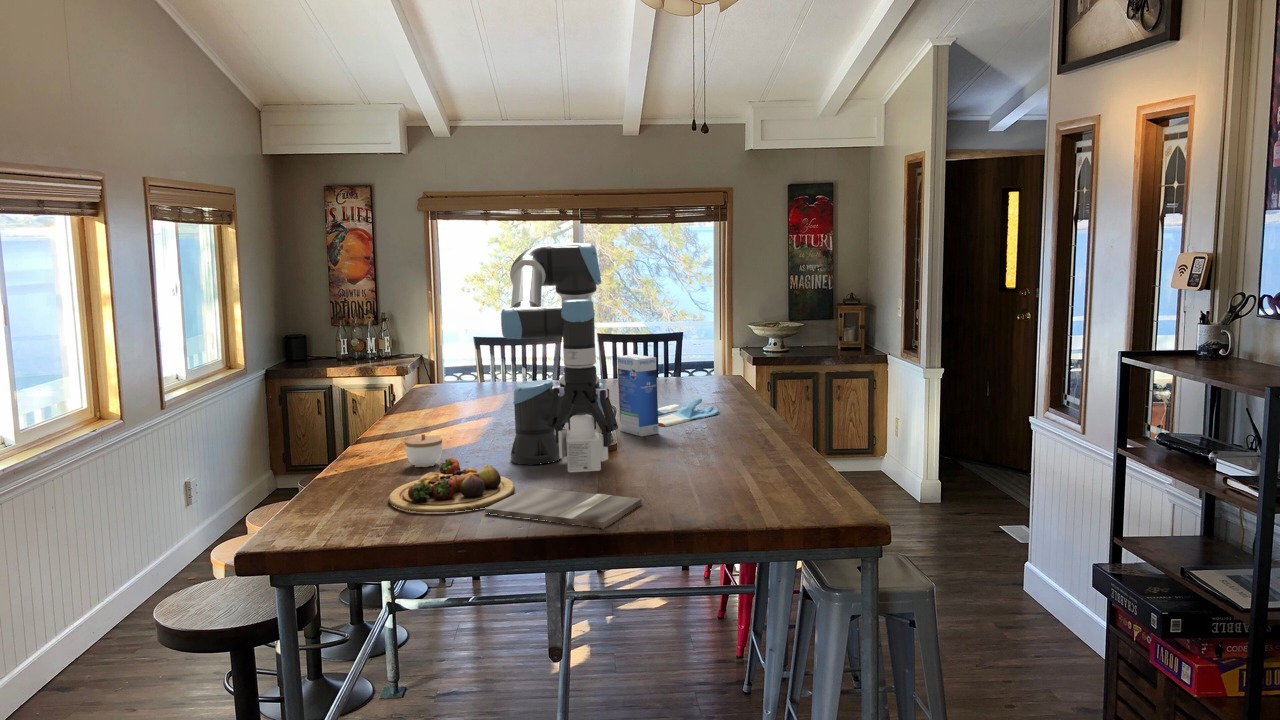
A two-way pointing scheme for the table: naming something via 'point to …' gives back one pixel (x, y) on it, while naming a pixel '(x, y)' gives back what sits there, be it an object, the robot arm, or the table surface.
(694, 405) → the rubber gloves
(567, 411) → the robot arm
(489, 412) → the table surface
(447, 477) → the wooden plate with food
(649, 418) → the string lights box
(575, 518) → the board
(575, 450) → the container
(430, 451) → the lidded jar
